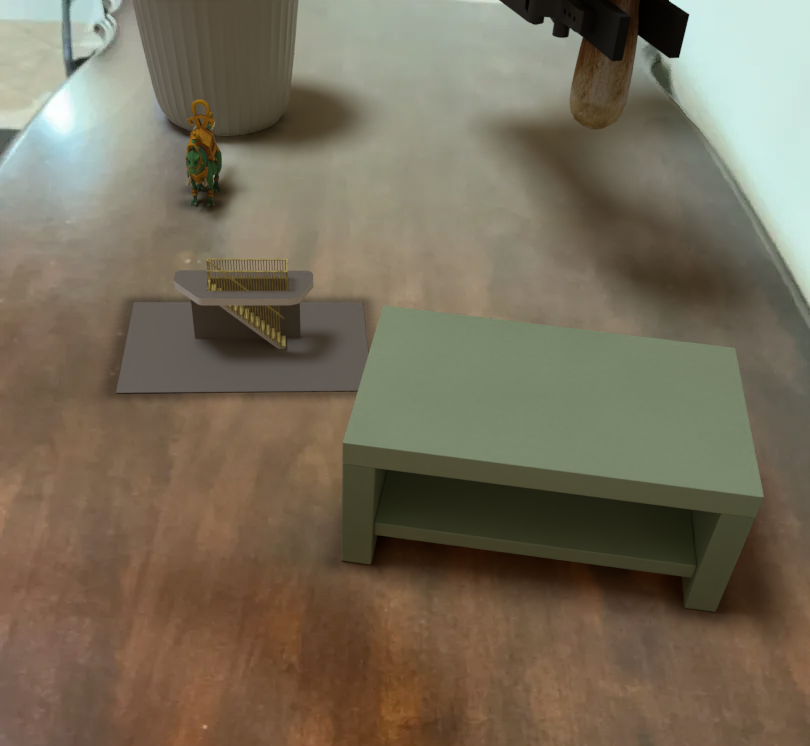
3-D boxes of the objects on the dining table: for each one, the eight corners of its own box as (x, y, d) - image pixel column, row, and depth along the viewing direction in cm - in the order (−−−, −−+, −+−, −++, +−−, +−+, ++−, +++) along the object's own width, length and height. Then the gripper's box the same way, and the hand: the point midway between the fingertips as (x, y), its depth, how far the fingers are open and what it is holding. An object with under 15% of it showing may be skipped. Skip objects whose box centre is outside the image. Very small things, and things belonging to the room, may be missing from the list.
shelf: (696, 459, 66) (735, 347, 60) (715, 612, 56) (764, 497, 50) (377, 419, 67) (382, 304, 61) (340, 561, 57) (342, 442, 51)
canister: (275, 165, 95) (265, -84, 81) (105, 136, 98) (66, -111, 83) (332, 101, 108) (333, -125, 93) (181, 76, 111) (158, -147, 96)
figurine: (179, 219, 86) (169, 127, 81) (201, 162, 95) (192, 75, 89) (214, 221, 86) (206, 129, 81) (232, 164, 95) (226, 77, 89)
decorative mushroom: (543, 89, 78) (579, -133, 68) (677, 117, 76) (736, -108, 66) (502, 136, 71) (536, -105, 60) (650, 170, 69) (711, -76, 58)
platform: (372, 390, 70) (375, 310, 65) (115, 392, 68) (100, 310, 63) (362, 302, 78) (364, 225, 74) (133, 302, 76) (121, 223, 72)
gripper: (602, -11, 85) (743, 90, 69) (420, -5, 81) (526, 103, 65) (620, -113, 79) (777, -29, 64) (427, -112, 75) (543, -23, 60)
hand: (650, 37), depth 64 cm, fingers closed on decorative mushroom, 4 cm apart
